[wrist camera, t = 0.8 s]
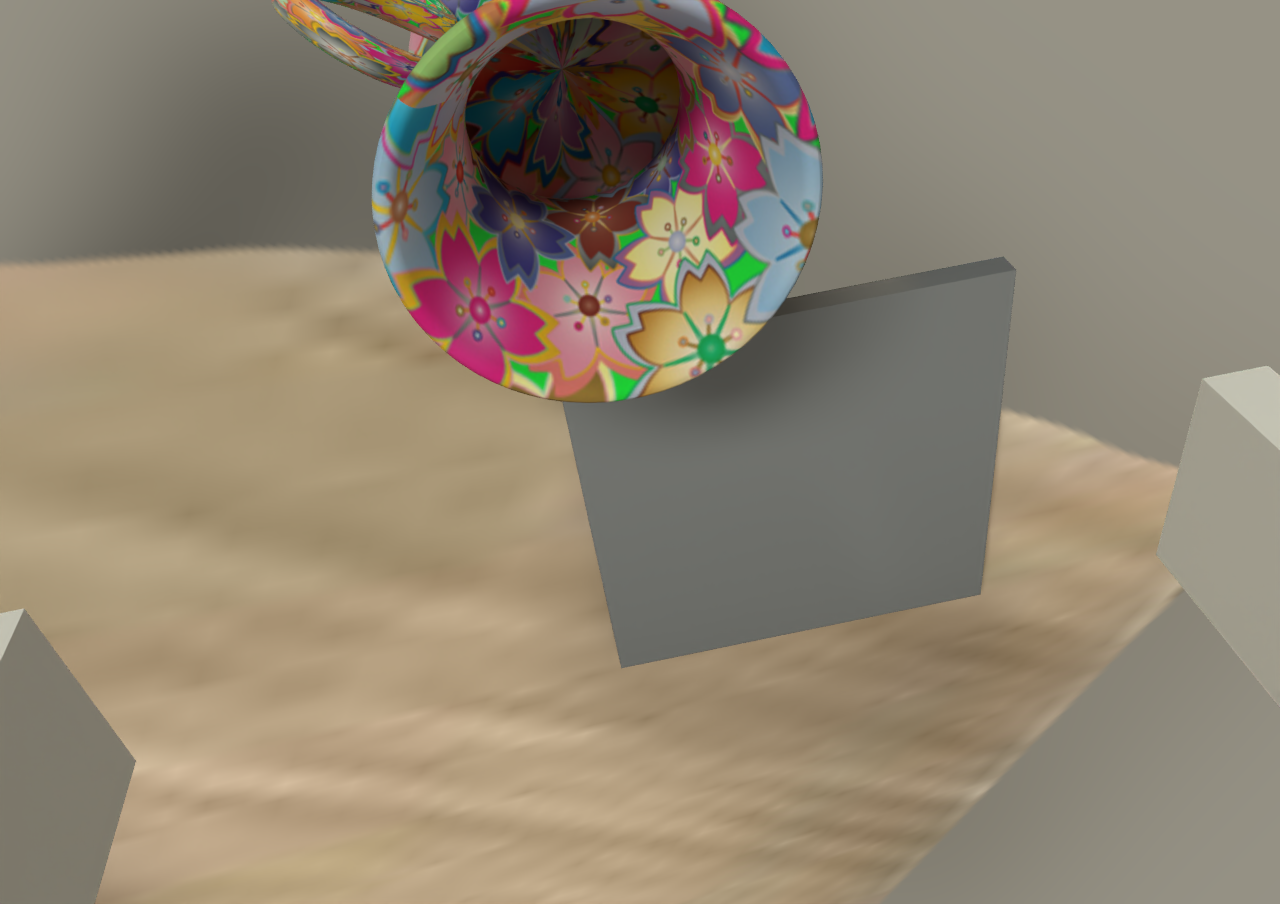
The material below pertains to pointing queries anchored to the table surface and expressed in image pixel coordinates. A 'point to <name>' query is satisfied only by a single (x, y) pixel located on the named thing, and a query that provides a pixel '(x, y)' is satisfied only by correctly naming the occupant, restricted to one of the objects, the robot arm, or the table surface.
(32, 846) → the robot arm
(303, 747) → the table surface
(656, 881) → the table surface
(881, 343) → the slate board
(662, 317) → the mug
